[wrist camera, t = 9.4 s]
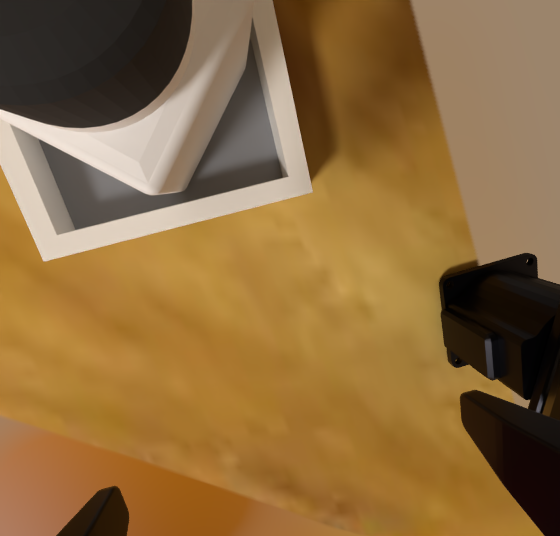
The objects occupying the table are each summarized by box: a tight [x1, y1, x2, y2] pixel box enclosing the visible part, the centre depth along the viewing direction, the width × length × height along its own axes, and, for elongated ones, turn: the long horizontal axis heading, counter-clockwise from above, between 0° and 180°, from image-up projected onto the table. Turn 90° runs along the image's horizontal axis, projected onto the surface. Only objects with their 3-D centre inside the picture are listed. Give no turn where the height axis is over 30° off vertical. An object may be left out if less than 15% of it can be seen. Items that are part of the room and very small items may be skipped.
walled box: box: [0, 0, 313, 261], centre depth 15 cm, size 13×13×2 cm
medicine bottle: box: [0, 0, 254, 195], centre depth 10 cm, size 7×7×12 cm
